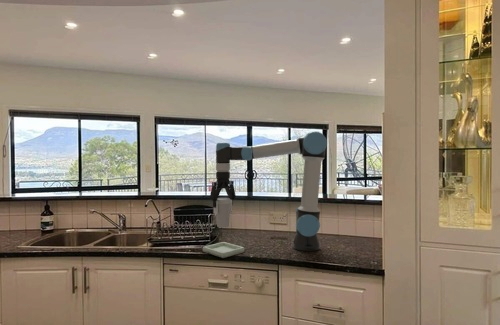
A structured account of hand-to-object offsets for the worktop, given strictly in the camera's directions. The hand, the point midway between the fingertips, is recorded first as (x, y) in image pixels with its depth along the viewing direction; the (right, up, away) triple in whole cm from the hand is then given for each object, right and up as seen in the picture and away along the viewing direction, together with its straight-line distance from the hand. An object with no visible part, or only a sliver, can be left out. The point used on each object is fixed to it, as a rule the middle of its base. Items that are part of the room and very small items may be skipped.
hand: (223, 212), depth 176 cm
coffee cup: (0, -8, 0) cm, 8 cm away
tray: (0, -21, 0) cm, 21 cm away
